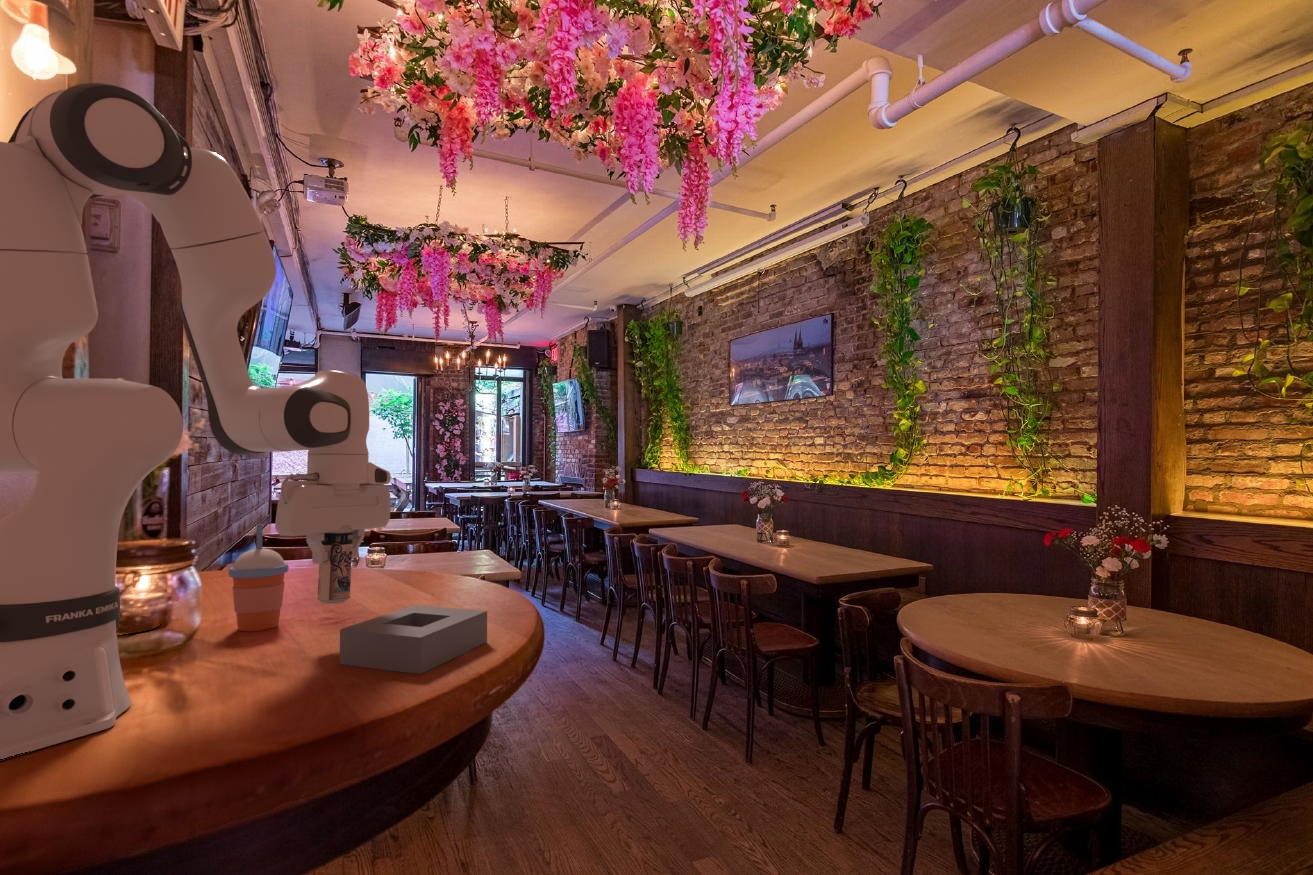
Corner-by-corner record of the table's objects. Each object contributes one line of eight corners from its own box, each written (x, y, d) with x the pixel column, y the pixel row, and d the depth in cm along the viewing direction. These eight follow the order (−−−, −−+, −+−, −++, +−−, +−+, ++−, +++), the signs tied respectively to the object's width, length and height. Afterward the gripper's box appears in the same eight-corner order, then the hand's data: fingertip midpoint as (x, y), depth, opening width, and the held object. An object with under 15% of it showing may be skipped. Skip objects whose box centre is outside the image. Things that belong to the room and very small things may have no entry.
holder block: (420, 674, 90) (420, 637, 90) (339, 664, 94) (339, 629, 94) (487, 642, 105) (487, 610, 105) (414, 635, 109) (414, 605, 109)
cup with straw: (232, 624, 117) (233, 523, 118) (290, 618, 121) (291, 521, 122) (223, 636, 109) (224, 528, 110) (285, 630, 113) (286, 525, 114)
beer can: (337, 604, 101) (341, 526, 102) (309, 603, 102) (313, 525, 103) (356, 599, 106) (360, 524, 106) (330, 597, 107) (334, 523, 107)
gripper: (299, 472, 94) (296, 570, 93) (397, 473, 114) (396, 554, 113) (266, 473, 96) (263, 568, 95) (368, 473, 116) (366, 552, 115)
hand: (336, 560), depth 104 cm, fingers closed on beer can, 5 cm apart
